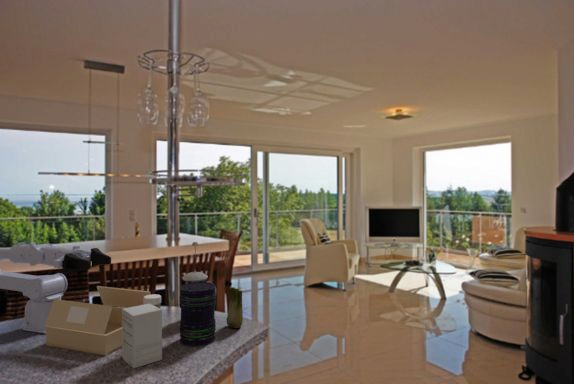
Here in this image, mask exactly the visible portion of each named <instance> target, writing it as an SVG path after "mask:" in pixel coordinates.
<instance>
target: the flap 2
mask: <svg viewBox="0 0 574 384" xmlns="http://www.w3.org/2000/svg"><path fill="white" fill-rule="evenodd" d="M96 289H97V292H98V294H99V297H100V299H101V302H102V305H106V306H113V307H115V308H123V309H124V308H129V307H134V306H139V305H144V304H143V298H144V296H146V295H152V294H151V291H148V290H141V289H139V290H138V289H131V288H129V289H128V288H121V287H120V288H119V287H111V286H109V287H108V286H102V285H101V286H100V285H97V286H96Z"/></svg>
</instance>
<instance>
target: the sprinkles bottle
mask: <svg viewBox="0 0 574 384" xmlns="http://www.w3.org/2000/svg"><path fill="white" fill-rule="evenodd" d="M143 304H152V305H154V306H156V307H158V308H160V309H161V304H162V295H160V294H154V293H152V294H151V295H146V296H144V298H143Z"/></svg>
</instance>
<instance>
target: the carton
mask: <svg viewBox="0 0 574 384" xmlns="http://www.w3.org/2000/svg"><path fill="white" fill-rule="evenodd" d="M122 309H123V308H122V307H114V306H113V307H112V310H111V313H110V317H109V320H108V323H107V327H106V330H105V334H104V335H102V334H95V333H89V332H82V331H75V330H69V329H62V328H56V327H49V326H46V334H45V345H46V346H49V347H53V348H54V347H55V348H60V349H66V350H72V351H77V352H82V353H89V354H95V355H100V356H101V355H102V356H108V355H110V354H112V353H114V352H116V351H118V350H119V349H122Z"/></svg>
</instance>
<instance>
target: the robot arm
mask: <svg viewBox="0 0 574 384" xmlns="http://www.w3.org/2000/svg"><path fill="white" fill-rule="evenodd" d="M1 260H2V261H3V260H9V261H10V262H11V263H13V264H26V265H27V264H29V266H30V267H31V266H33V267H34V266H36V265H46V266H50V267H51V266H52V267H53V268H55V269H62V272H61V273H60V272H57V273H55V274H45V275H32V274H27V273H19V272H11V271H1V269H0V289H2V290H9V291H17V292H22V296H23V297H26V298H27V297H28V298H29V300H28V301H27V302H26V303H25V308H24V327H22V329H21V330H22V331H26V332H27V331H28V332H32V333H40V334H44V335H46V326H45V323H46V321H47V318H48V315H49V312H50V309H51V307H52V304H53V301H54V299H58V300H62V297H63V296H64V293H65V292H66V290H68V285H69V284H68V279H67V277H66V276H65V275H67V274H71V273H73V272H77V271H79V272H80V271H89V270H91V269H92V268H94V267H95V268H96V267H98V266H108V265H111V264H112V256H110V255H107V254H105V253H103V252H102V251H101V250H100V248H98V247H92V248H91V249H90V251H88V250H84V249H81V246H80V245H73V246H72V248H71V247H70V248H67V247H61V246H54V245H52V243H47V242H44V243H42V244H41V243H40V244H36V242H31V243H29V244H25V242H18V243H16V244H15V245H12V246H11V247H0V261H1Z"/></svg>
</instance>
